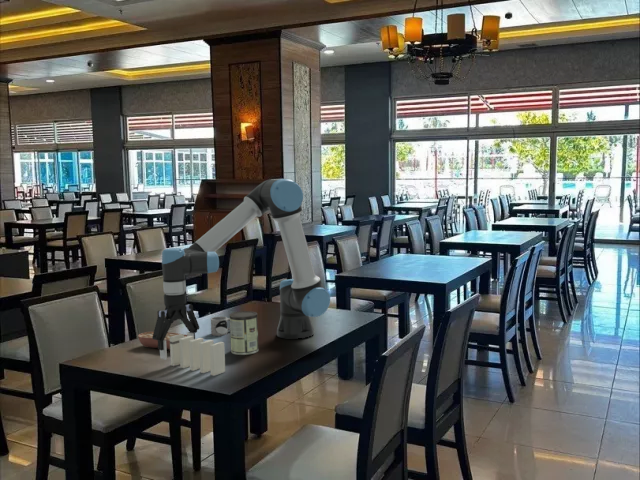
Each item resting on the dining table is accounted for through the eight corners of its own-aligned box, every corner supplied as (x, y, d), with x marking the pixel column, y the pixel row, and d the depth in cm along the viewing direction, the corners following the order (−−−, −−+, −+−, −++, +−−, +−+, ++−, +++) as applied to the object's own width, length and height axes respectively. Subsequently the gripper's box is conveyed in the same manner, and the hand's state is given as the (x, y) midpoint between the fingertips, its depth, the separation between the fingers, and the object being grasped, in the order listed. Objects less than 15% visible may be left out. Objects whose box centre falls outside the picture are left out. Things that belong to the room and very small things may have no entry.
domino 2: (194, 364, 219) (193, 336, 218) (183, 368, 215) (182, 339, 214) (191, 363, 220) (190, 335, 219) (180, 367, 216) (179, 338, 215)
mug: (216, 336, 257) (216, 320, 257) (208, 334, 262) (207, 318, 262) (237, 332, 264) (236, 316, 263) (228, 329, 269) (228, 314, 268)
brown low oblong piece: (133, 348, 242) (133, 336, 242) (151, 342, 251) (150, 330, 250) (181, 355, 232) (180, 341, 232) (198, 348, 241) (197, 335, 240)
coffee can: (238, 346, 241) (237, 310, 240) (263, 348, 238) (261, 311, 236) (225, 354, 231) (224, 316, 230) (251, 355, 228) (250, 317, 227)
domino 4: (214, 369, 213) (213, 340, 212) (203, 373, 209) (202, 343, 208) (211, 368, 214) (210, 339, 213) (200, 372, 210) (199, 342, 209)
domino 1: (185, 362, 222) (184, 334, 221) (174, 365, 218) (172, 337, 217) (182, 361, 223) (180, 333, 222) (170, 365, 219) (169, 336, 218)
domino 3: (204, 367, 216) (203, 338, 215) (193, 370, 212) (192, 341, 211) (201, 366, 217) (200, 337, 216) (190, 369, 213) (188, 340, 212)
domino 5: (225, 371, 210) (224, 342, 209) (214, 375, 206) (213, 345, 205) (221, 371, 211) (220, 341, 210) (210, 375, 207) (209, 345, 206)
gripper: (193, 286, 229) (196, 345, 232) (139, 297, 211) (142, 361, 213) (208, 288, 225) (210, 348, 227) (153, 299, 206) (156, 364, 208)
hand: (177, 354), depth 220 cm, fingers open, 11 cm apart
